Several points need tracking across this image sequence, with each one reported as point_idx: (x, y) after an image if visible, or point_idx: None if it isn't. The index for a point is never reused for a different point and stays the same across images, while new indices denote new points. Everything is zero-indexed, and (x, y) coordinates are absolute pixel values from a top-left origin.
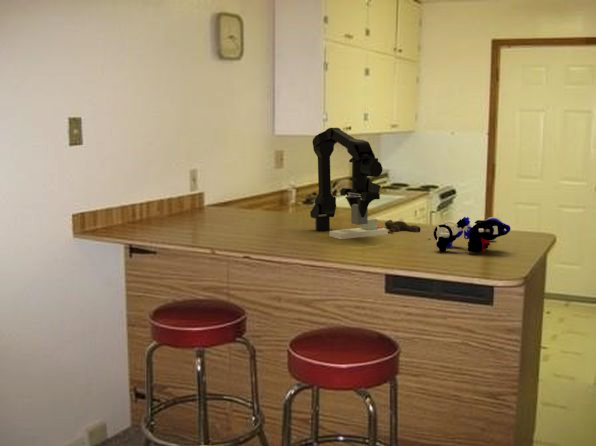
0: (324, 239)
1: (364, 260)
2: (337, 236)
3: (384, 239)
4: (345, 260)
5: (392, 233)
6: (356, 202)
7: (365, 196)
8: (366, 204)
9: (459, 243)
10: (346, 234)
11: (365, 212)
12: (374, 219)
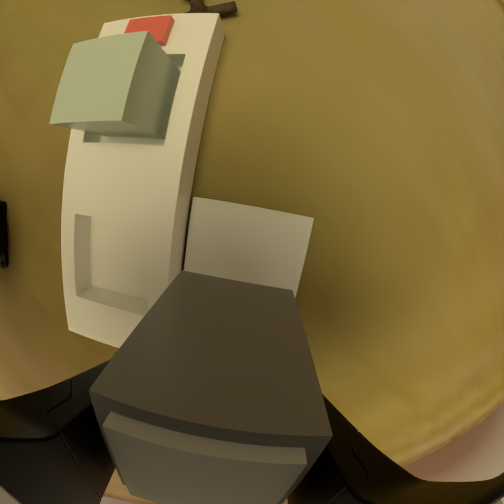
0: None
1: (443, 427)
2: None
3: (279, 102)
4: (406, 455)
5: (234, 6)
6: (76, 456)
7: None
8: (374, 490)
9: (492, 29)
10: None
11: (327, 404)
12: (138, 54)
